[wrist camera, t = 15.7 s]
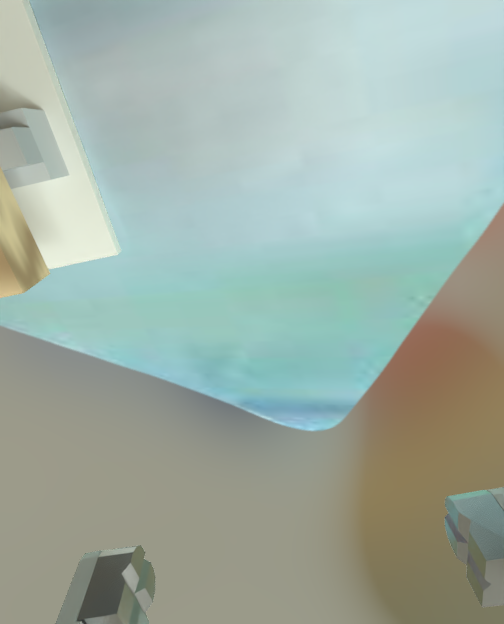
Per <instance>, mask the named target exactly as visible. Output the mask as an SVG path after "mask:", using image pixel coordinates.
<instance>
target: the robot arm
mask: <svg viewBox="0 0 504 624" xmlns="http://www.w3.org/2000/svg"><path fill="white" fill-rule="evenodd" d="M445 507H446V509H447V510H448V514H447V515H446V517H445V528H446V531H447V536H448V539H449V542H450V544H451V547H452V549H453V551H454V553H455V555H456V557H457V558H458V559H459V560H461V561H462V562H463V563H465V564H466V565H467V579H468V581H469V583H470V585H471V587H472V589H473V591H474V593H475V595H476V597H477V598H478V601H479V602H480V604H481V606H482V607H489V606H498V605H504V487H502V488H497V489H491V490H481V491H475V492H470V493H464V494H458V495H453V496H447V497H446V499H445ZM144 556H145V551H144V549H143V548H142V546H141V545H138V546H132V547H125V548H118V549H111V550H103V551H96V552H90V553H85V554H84V556H83V557H82V558H81V560H80V562H79V564H78V567H77V569H76V572H75V575H74V577H73V580H72V582H71V585H70V587H69V590H68V593H67V595H66V598H65V600H64V603H63V605H62V608H61V610H60V613H59V616H58V618H57V621H56V623H55V624H149V620H148V618H147V615H146V613H145V612H146V611H147V610H148V608H149V607H150V605H151V604H152V603H153V599H154V594H155V573H154V568H153V567H152V564H151V562H149V561H147V560H145V559H144Z"/></svg>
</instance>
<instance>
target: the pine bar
mask: <svg viewBox="0 0 504 624" xmlns="http://www.w3.org/2000/svg"><path fill="white" fill-rule="evenodd" d="M49 274H50V272H49V270H48V268H47V266H46V264H45V261H44V259H43V257H42V255H41V253H40V251H39V248H38V246H37V244H36V242H35V240H34V238H33V236H32V233H31V231H30V229H29V227H28V225H27V223H26V221H25V218H24V216H23V214H22V212H21V210H20V208H19V206H18V203H17V201H16V199H15V197H14V195H13V193H12V191H11V188H10V186H9V184H8V182H7V180H6V178H5V175H4V173H3V171H2V169H1V167H0V298H2V297H7V296H12V295H17V294H21V293H24V292H26V291H27V290H28V289H30V288H31V287H33V286H34V285H35V284H37V283H38V282H39V281H41V280H42V279H44V278H45V277H46V276H48V275H49Z"/></svg>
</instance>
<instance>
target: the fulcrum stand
mask: <svg viewBox="0 0 504 624" xmlns="http://www.w3.org/2000/svg"><path fill="white" fill-rule="evenodd" d="M0 167H1V169H2V171H3V173H4V175H5V178H6V180H7V182H8V184H9V186H10V188H11V191H12V193H13V195H14V197H15V199H16V201H17V203H18V206H19V208H20V210H21V212H22V214H23V216H24V218H25V221H26V223H27V225H28V227H29V229H30V231H31V233H32V236H33V238H34V240H35V242H36V244H37V246H38V248H39V251H40V253H41V255H42V257H43V259H44V261H45V264H46V266H47V268H48V269H53V268H57V267H62V266H67V265H71V264H76V263H81V262H85V261H90V260H95V259H100V258H104V257H109V256H114V255H118V254H119V253H120V252H121V248H120V246H119V243H118V240H117V238H116V235H115V232H114V229H113V227H112V224H111V221H110V219H109V216H108V213H107V211H106V208H105V205H104V202H103V200H102V197H101V194H100V192H99V189H98V186H97V183H96V181H95V178H94V175H93V173H92V170H91V167H90V165H89V162H88V159H87V156H86V154H85V151H84V148H83V146H82V143H81V140H80V138H79V135H78V132H77V129H76V127H75V124H74V121H73V119H72V116H71V113H70V110H69V108H68V105H67V102H66V100H65V97H64V94H63V92H62V89H61V86H60V83H59V81H58V78H57V75H56V73H55V70H54V67H53V65H52V62H51V59H50V56H49V54H48V51H47V48H46V46H45V43H44V40H43V37H42V35H41V32H40V29H39V27H38V24H37V21H36V19H35V16H34V13H33V10H32V8H31V5H30V2H29V0H0Z"/></svg>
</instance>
